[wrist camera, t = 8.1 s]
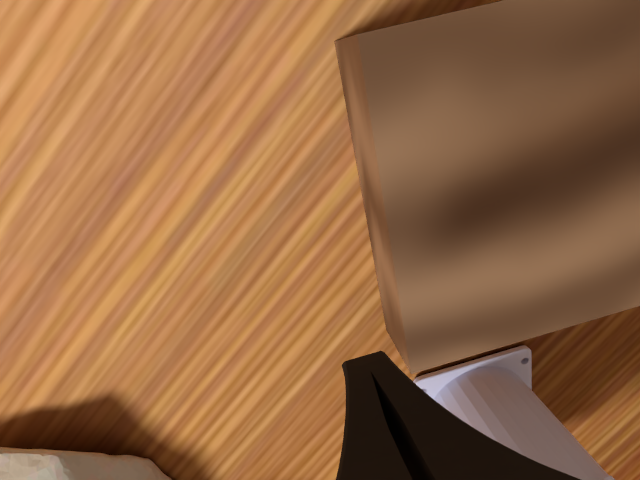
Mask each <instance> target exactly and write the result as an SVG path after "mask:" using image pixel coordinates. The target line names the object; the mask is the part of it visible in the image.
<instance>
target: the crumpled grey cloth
mask: <svg viewBox="0 0 640 480" xmlns="http://www.w3.org/2000/svg"><path fill="white" fill-rule="evenodd" d="M0 480H172V479H170V478H169V477H168V476H166V475H165V474H163V473H162V472H161V470H160V469H159V468H158V467H157V466H156V465H155V464H154V463H153V462H152V461H151V460H150V459H148V458H141V457H137V456H132V455H117V456H116V455H107V454H104V453H93V452H76V451H60V450H47V449H21V448H8V447H0Z"/></svg>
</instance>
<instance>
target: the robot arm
mask: <svg viewBox="0 0 640 480" xmlns="http://www.w3.org/2000/svg"><path fill="white" fill-rule="evenodd" d="M522 359H523V360H522ZM342 368H343V372H344V376H345V384H346V416H345V427H344V438H343V445H342V452H341V458H340V463H339V469H338V473H337V478H336V480H615V479H614V478H613V477H612V476H609V475H608V474H607V473H606V472H605V471H604V470H603V469H602V468H601V466H600V465H599V464H598V463H597V462H596V461H595V460H594V459H593V458H592V456H591V455H590V454H589V453H588V452H587V451H586V450H585V449H584V448H583V447H582V445H581V444H580V443H579V442H578V441H577V440H576V439H575V438H574V437H573V435H572V434H571V433H570V432H569V431H568V430H567V429H566V428H565V427H564V425H563V424H562V423H561V422H560V421H559V420H558V419H557V418H556V417H555V416H554V414H553V413H552V412H551V411H550V410H549V409H548V408H547V407H546V406H545V404H544V403H543V402H542V401H541V400H540V399H539V398H538V397H537V396H536V395H535V393H534V392H533V391H532V352H531V350H530V349H529V348H528V347H527V346H525V345H523V346H519V347H515V348H512V349H509V350H505V351H502V352H499V353H495V354H492V355H489V356H485V357H482V358H479V359H475V360H472V361H469V362H465V363H462V364H459V365H455V366H452V367H449V368H445V369H442V370H439V371H435V372H432V373H429V374H425V375H422V376H419V377H417V378H416V379H414V381H412V380H411V379H409V378H408V377H407V376H406V375H405V374H404V373H403V372H402V371H401V370H400V369H399V368H398V367H397V366H396V365H395V364H394V363H393V362H392V361H391V359H390V358H389V357H388V356H387V355H386V354H385V353H384V352H382V351H379V352H376V353H372V354H369V355H365V356H362V357H358V358H355V359H352V360H348V361H345V362H344V363H343V365H342ZM422 389H423V390H422Z"/></svg>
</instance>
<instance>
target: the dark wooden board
mask: <svg viewBox="0 0 640 480" xmlns="http://www.w3.org/2000/svg"><path fill="white" fill-rule="evenodd" d="M335 46H336V52H337V57H338V63H339V68H340V74H341V79H342V85H343V91H344V96H345V102H346V107H347V113H348V118H349V124H350V129H351V135H352V141H353V146H354V152H355V157H356V163H357V168H358V174H359V179H360V185H361V191H362V196H363V202H364V207H365V213H366V218H367V224H368V230H369V235H370V241H371V246H372V252H373V257H374V263H375V268H376V274H377V280H378V285H379V291H380V296H381V302H382V307H383V313H384V319H385V324H386V330H387V332H388V333H389V335H390V337H391V339H392V341H393V342H394V344H395V346H396V348H397V350H398V351H399V353H400V355H401V357H402V359H403V360H404V362H405V364H406V366H407V368H408V369H409V371H410V373H411V374H413V373H417V372H420V371H423V370H427V369H430V368H433V367H437V366H440V365H443V364H447V363H450V362H454V361H457V360H460V359H464V358H467V357H470V356H474V355H477V354H480V353H484V352H487V351H490V350H494V349H497V348H500V347H504V346H507V345H511V344H514V343H517V342H521V341H524V340H527V339H531V338H534V337H537V336H541V335H544V334H547V333H551V332H554V331H557V330H561V329H564V328H567V327H571V326H574V325H578V324H581V323H584V322H588V321H591V320H594V319H598V318H601V317H604V316H608V315H611V314H614V313H618V312H621V311H624V310H628V309H631V308H634V307H638V306H640V0H502V1H498V2H494V3H490V4H485V5H481V6H477V7H472V8H468V9H464V10H459V11H455V12H451V13H447V14H442V15H438V16H434V17H429V18H425V19H421V20H416V21H412V22H408V23H404V24H399V25H395V26H391V27H386V28H382V29H378V30H373V31H369V32H365V33H361V34H356V35H353V36H350V37H347V38H344V39H340V40H337V41H335Z"/></svg>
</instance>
